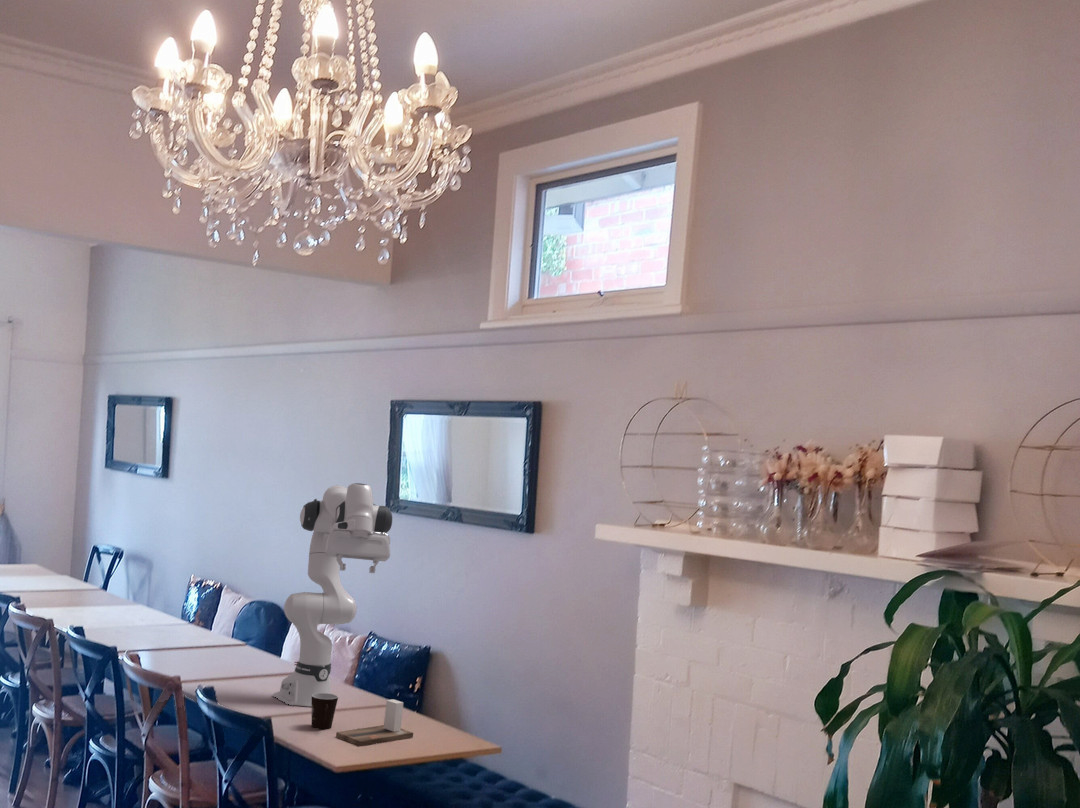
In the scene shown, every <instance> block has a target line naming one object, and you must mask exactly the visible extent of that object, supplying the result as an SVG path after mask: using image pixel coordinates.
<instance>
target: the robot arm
mask: <svg viewBox="0 0 1080 808" xmlns="http://www.w3.org/2000/svg"><path fill="white" fill-rule="evenodd" d="M299 521H300V524H301V527H302V528H303V530H306V531H308V532H312V535H311V540H310V545H309V550H308V551H309V552H308V562H307V563H308V565H307V566H308V567H307V576H308V578H309V579H310V580H311V581H312V582H314V583H315V584H317V585H319V586H320V587H321V588H322V591H323V592H305V591H304V592H295V593H292V594H290V595H288V597H287V598H286V600H285V602H284V607H283V611H284V615H285V617H286V618H287V620H288V621H289V622H291V623H292V624H293V626H294V627H295V628H296V630H297V632H298V635H299V640H300V641H299V642H300V644H299V647H300V648H299V657H298V658H299V659H298V661H294V665H293V666H295V668H294V671H293V672H292V673H290V674H289V675H288V676H285V678H283V679H282V681H281V684H280V688H279V691H276V692H273V693H272V697H274V698H275V697H276V698H275V699H277V698H278V700H279V701H280V702H282V701H283V703H284V702H285V703H284V704H286V705H288V704H289V705H288V706H300V707H301V706H302V707H311V708H312V694H316V693H328V694H332V693H331V687H332V686H331V684H332V683H331V682H332V681H331V679H332V678H331V677H330V674H331V672H332V671H331V670H332V663H331V658H332V650H333V649H332V648H333V642H332V639H331V638H330V637H329V636H327V635H326V634H324V633H322V632H321V631H320V630H318V625H335V626H337V625H344V624H350V623H351V622H352V621H353V620H354V618H355V617H356V616H357V615H356V614H357V608H358V607H357V603H356V601H355V599H354V598H353V596H351V595H350V594H349V593H348V592H347V591H346V589H345V588H344V586H343V584H342V582H341V578H340V577H341V576H340V571H345V570H346V563H344V562H343V558H344V559H354V560H363V561H365V560H366V561H372V564H373V565H370V566H369V568H368V569H369V573H370V574H375V573H376V567H377V565H378V564H379V562H386V561H388V560H389V559H390V557H391V549H390V548H391V547H390V545H391V537H390V535H389V534H387V533H388V532H390V530H391V529H392V525H393V513H392V512H391V510H390V508H388V507H387V506H386V505H376V504H374V497H373V490H372V487H371V486H370V485H368V484H366V483H360V482H359V483H358V482H356V483H351V484H349V485H348V487H346V486H343V485H333V486H330V487H328V488H327V489H326V490H325V491H324V493H323V496H322V499H321V500H317V498H314V500H313V501H308V502H307V503H305V504H304V505H303V506H302V508H301V510H300V514H299Z"/></svg>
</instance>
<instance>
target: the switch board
mask: <svg viewBox="0 0 1080 808" xmlns="http://www.w3.org/2000/svg"><path fill="white" fill-rule="evenodd" d="M335 733H336V734H335V737H336V738H337V739H340V740H343V741H346V742H348V743H350V744H353V745H356V746H358V747H363V746H364V747H365V746H370V745H376V743H377V744H382V742H383V743H388V741H389V742H394V741H398V740H399V741H400V740H406V739H411V738H412V739H413V738H414V732H413V731H409V730H407V729H405V728H404V729H403V728H401V731H395V732H393V731H390V730H387V729H385V728H384V724H382V725H376V726H370V727H369V726H368V727H362V728H357V729H354V728H353V729H349V730H348V729H347V730H343V731H336V732H335Z"/></svg>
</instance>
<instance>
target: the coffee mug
mask: <svg viewBox="0 0 1080 808" xmlns="http://www.w3.org/2000/svg"><path fill="white" fill-rule="evenodd" d="M338 699H339V696H338V695H336V694H334V693H331V694H328V693H316V694H312V707H311V728H312V729H315V730H320V731H321V730H323V731H324V730H331V729H332V725H333V721H334V716H335V713H336V709H337V704H338Z"/></svg>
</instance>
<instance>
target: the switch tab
mask: <svg viewBox="0 0 1080 808" xmlns="http://www.w3.org/2000/svg"><path fill="white" fill-rule="evenodd" d="M385 702H386V704H385V711H384V722H383V725H384V728H385V729H387V730H390V731H393V732H395V731H401V729H402V723H403V722H402V720H403V711H404V702H403V701H400V700H397V699H392V698H391V699H387V700H386V701H385Z"/></svg>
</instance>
